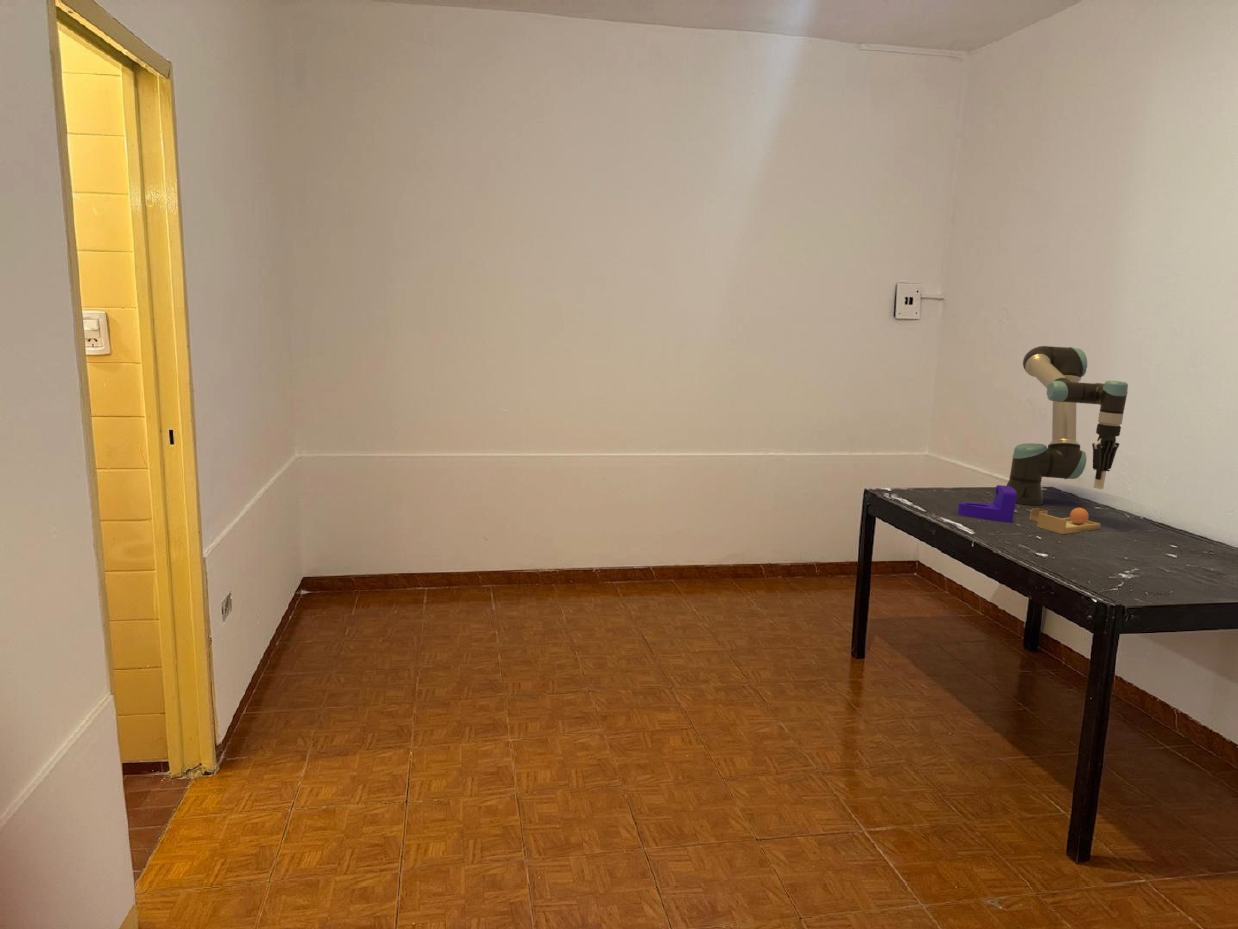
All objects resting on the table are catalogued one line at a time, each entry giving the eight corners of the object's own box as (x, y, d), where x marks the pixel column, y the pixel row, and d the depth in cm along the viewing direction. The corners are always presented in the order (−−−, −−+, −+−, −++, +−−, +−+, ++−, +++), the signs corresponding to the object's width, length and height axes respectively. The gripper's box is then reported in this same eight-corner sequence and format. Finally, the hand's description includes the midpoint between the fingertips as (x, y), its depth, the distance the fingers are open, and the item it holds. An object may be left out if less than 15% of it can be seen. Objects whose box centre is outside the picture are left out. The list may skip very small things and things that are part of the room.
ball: (1075, 521, 317) (1077, 505, 316) (1090, 525, 312) (1093, 509, 311) (1065, 522, 314) (1067, 506, 313) (1080, 526, 309) (1083, 510, 308)
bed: (1073, 522, 320) (1075, 508, 319) (1099, 529, 312) (1101, 515, 311) (1036, 526, 310) (1039, 513, 309) (1062, 534, 301) (1065, 520, 300)
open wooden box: (1036, 518, 322) (1037, 508, 321) (1046, 521, 319) (1047, 510, 318) (1029, 519, 320) (1031, 509, 319) (1039, 522, 317) (1040, 511, 316)
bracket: (1004, 515, 324) (1009, 485, 322) (1012, 523, 314) (1017, 491, 311) (954, 510, 327) (958, 480, 325) (960, 517, 317) (964, 486, 314)
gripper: (1110, 422, 317) (1099, 484, 321) (1088, 422, 310) (1077, 486, 315) (1130, 425, 310) (1119, 489, 315) (1108, 426, 304) (1097, 491, 309)
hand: (1098, 488), depth 315 cm, fingers closed
